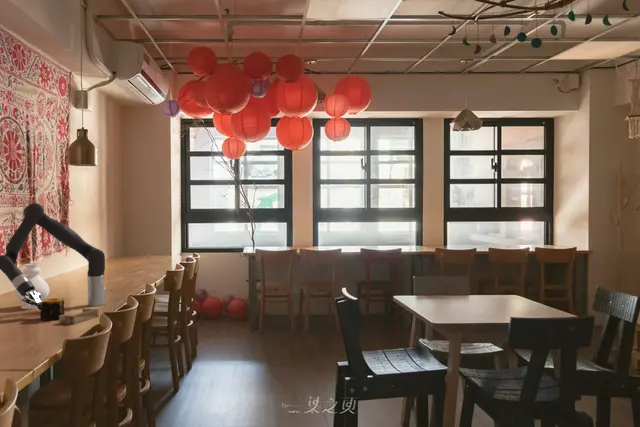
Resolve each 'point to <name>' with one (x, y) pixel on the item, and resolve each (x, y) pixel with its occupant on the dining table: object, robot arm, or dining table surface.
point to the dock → (79, 316)
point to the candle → (51, 308)
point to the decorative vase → (34, 283)
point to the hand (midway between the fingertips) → (42, 308)
